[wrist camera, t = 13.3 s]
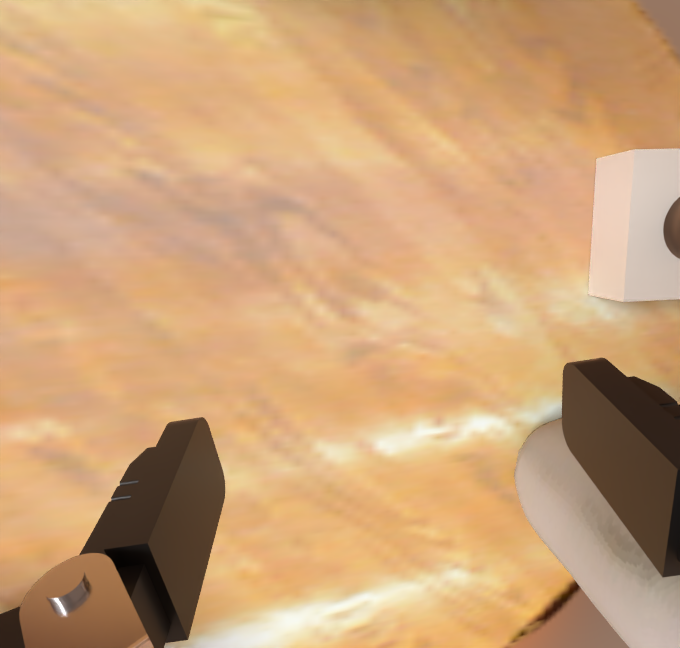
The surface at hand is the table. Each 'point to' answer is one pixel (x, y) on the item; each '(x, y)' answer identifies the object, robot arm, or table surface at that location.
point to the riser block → (634, 226)
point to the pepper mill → (673, 229)
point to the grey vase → (595, 543)
